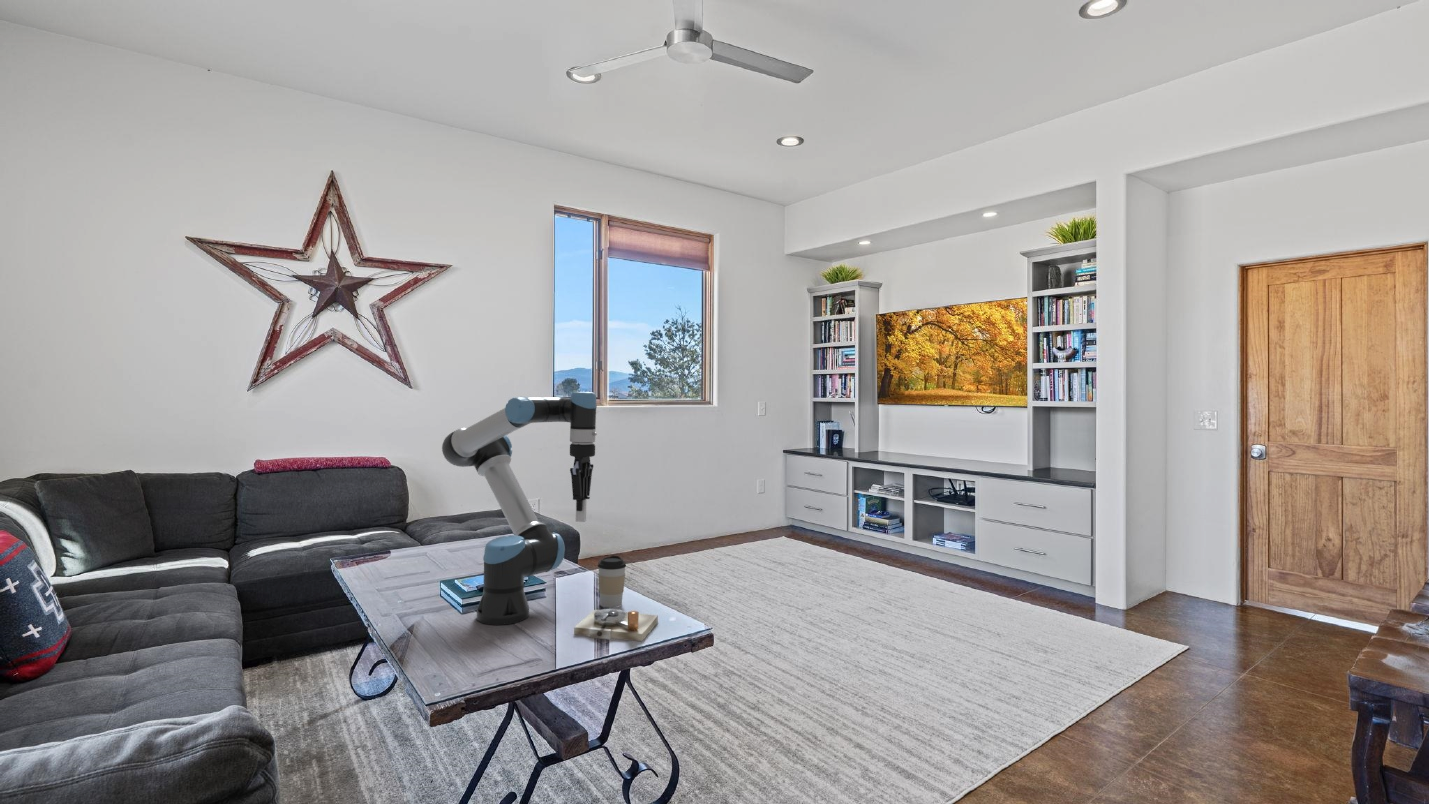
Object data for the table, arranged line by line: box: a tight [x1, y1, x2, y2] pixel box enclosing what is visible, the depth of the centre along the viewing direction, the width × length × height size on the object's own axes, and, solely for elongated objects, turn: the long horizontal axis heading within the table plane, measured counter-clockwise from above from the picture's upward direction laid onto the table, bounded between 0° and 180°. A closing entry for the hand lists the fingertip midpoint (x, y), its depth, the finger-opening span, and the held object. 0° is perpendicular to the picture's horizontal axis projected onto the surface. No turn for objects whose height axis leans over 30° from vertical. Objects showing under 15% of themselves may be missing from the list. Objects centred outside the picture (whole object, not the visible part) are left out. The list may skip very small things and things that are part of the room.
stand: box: [573, 609, 659, 642], centre depth 198 cm, size 20×18×2 cm
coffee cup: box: [597, 555, 627, 609], centre depth 220 cm, size 9×9×15 cm
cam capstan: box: [594, 608, 640, 631], centre depth 195 cm, size 16×10×5 cm, turn 49°
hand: (580, 521), depth 206 cm, fingers closed
